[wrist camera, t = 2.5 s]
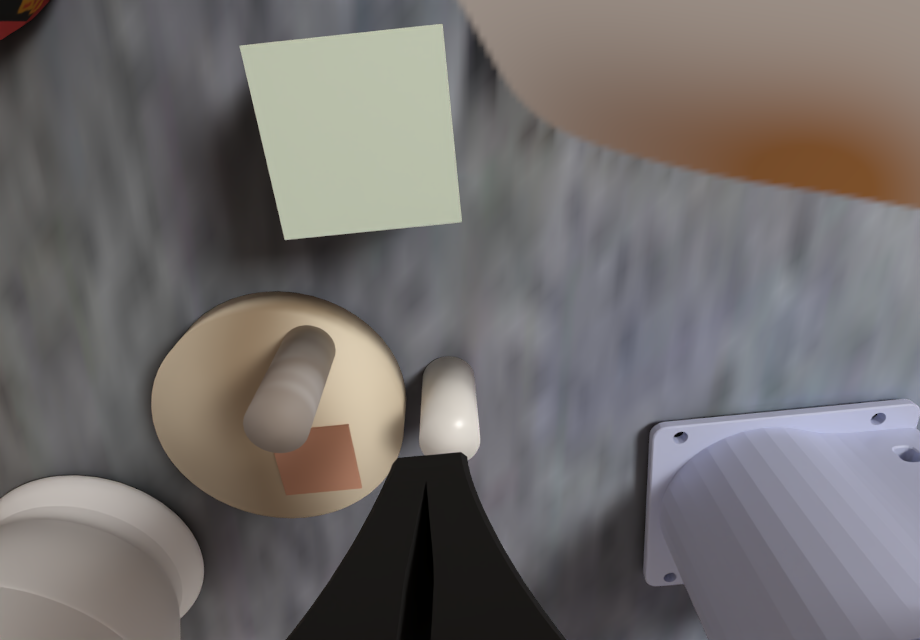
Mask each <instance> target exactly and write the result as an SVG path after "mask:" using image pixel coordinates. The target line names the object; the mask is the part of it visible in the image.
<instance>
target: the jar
mask: <svg viewBox="0 0 920 640" xmlns="http://www.w3.org/2000/svg"><path fill="white" fill-rule="evenodd" d="M203 579H204V562H203V557H202V554H201V550H200V547H199V545H198V543H197V541H196V539H195V537H194V536H193V534H192V532H191V531H190V529H189V528H188V527H187V526H186V524H185V523H184V522H183V521H182V520H181V519H180V518H179V517H178V516H177V515H176V514H175V513H174V512H173V511H172V510H170V509H169V508H168V507H167V506H165V505H164V504H163V503H161V502H160V501H158V500H157V499H155V498H153V497H152V496H150V495H148V494H146V493H145V492H143V491H140V490H138V489H136V488H133V487H131V486H128V485H126V484H123V483H120V482H116V481H112V480H108V479H104V478H99V477H91V476H80V475H67V476H54V477H48V478H43V479H39V480H35V481H32V482H29V483H26V484H24V485H22V486H19V487H17V488H15V489H14V490H12V491H10V492H9V493H7V494H6V495H5V496H3V497H2V498H1V499H0V640H180V635H181V631H180V618H181V617H183V616H184V615H185V614H186V612H187V611H188V610H189V609H190V608H191V606H192V605H193V604H194V602H195V601H196V599H197V597H198V595H199V593H200V590H201V587H202V584H203Z"/></svg>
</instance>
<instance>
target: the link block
mask: <svg viewBox="0 0 920 640" xmlns="http://www.w3.org/2000/svg"><path fill="white" fill-rule="evenodd" d="M240 50H241V54H242V59H243V63H244V67H245V71H246V76H247V80H248V84H249V89H250V93H251V97H252V101H253V106H254V110H255V114H256V119H257V123H258V127H259V131H260V136H261V140H262V144H263V149H264V153H265V157H266V162H267V166H268V170H269V174H270V179H271V183H272V187H273V192H274V196H275V200H276V204H277V209H278V213H279V217H280V222H281V226H282V230H283V235H284V239H285V240H290V239H300V238H310V237H320V236H330V235H340V234H349V233H359V232H369V231H379V230H389V229H399V228H409V227H419V226H428V225H438V224H448V223H458V222H462V219H461V208H460V198H459V188H458V177H457V167H456V157H455V147H454V137H453V127H452V116H451V106H450V96H449V86H448V76H447V66H446V55H445V45H444V35H443V25H442V24H437V25H428V26H418V27H409V28H400V29H390V30H381V31H372V32H363V33H353V34H344V35H335V36H326V37H316V38H307V39H298V40H288V41H279V42H270V43H261V44H251V45H242V46H240Z"/></svg>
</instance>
